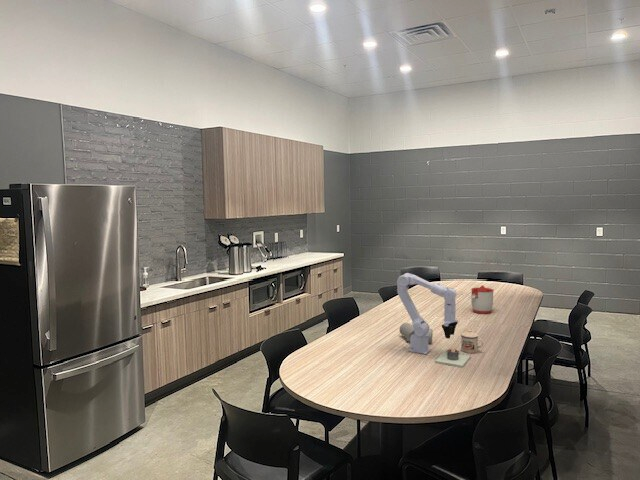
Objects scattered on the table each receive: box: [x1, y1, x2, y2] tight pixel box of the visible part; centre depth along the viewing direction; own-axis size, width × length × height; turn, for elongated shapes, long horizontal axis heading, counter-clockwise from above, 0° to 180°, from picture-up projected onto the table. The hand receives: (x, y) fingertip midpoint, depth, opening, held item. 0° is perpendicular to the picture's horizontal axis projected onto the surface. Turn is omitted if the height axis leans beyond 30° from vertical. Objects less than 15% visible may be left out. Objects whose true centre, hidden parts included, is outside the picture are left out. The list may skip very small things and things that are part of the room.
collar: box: [446, 348, 460, 360], centre depth 246 cm, size 6×6×4 cm
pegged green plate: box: [434, 348, 471, 368], centre depth 246 cm, size 14×16×6 cm
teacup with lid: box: [460, 329, 485, 354], centre depth 261 cm, size 12×9×12 cm
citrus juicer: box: [470, 285, 494, 315], centre depth 345 cm, size 16×17×20 cm
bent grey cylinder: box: [399, 322, 434, 344], centre depth 282 cm, size 18×11×20 cm
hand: (449, 336), depth 254 cm, fingers open, 7 cm apart
